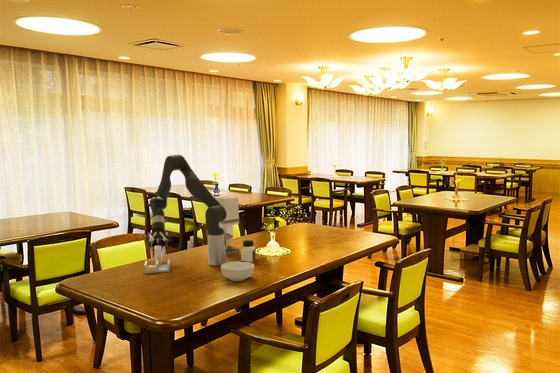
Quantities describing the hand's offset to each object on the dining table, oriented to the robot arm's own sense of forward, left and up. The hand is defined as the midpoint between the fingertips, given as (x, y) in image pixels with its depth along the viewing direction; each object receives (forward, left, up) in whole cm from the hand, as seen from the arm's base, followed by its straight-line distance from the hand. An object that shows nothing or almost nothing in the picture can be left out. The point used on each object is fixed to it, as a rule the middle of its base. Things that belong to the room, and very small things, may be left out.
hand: (158, 247), depth 264 cm
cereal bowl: (-58, +19, -9) cm, 61 cm away
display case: (-29, -34, -9) cm, 45 cm away
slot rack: (-9, +15, -9) cm, 19 cm away
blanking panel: (-2, +4, -9) cm, 10 cm away
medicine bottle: (-50, -17, -9) cm, 53 cm away
